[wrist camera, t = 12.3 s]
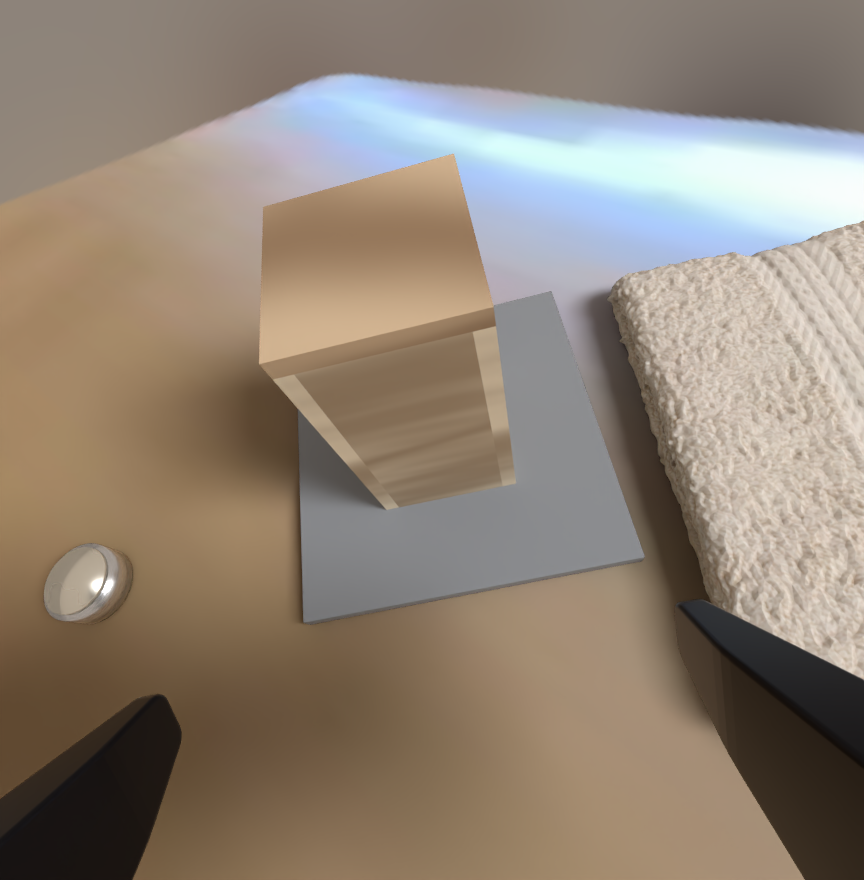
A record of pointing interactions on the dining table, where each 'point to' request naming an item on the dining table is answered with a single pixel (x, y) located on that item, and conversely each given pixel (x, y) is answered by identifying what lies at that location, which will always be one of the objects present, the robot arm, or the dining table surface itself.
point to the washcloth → (764, 427)
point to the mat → (474, 497)
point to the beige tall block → (389, 332)
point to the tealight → (88, 584)
